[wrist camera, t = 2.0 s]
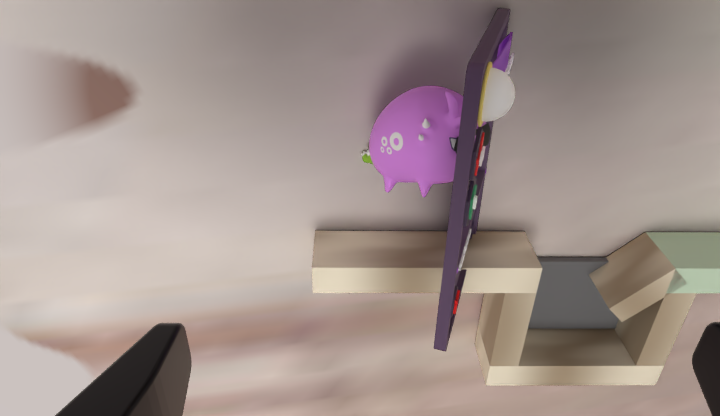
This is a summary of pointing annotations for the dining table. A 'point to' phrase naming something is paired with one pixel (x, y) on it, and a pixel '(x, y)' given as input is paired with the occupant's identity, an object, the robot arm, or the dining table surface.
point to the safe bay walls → (692, 259)
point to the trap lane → (522, 302)
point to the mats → (570, 296)
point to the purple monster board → (449, 149)
